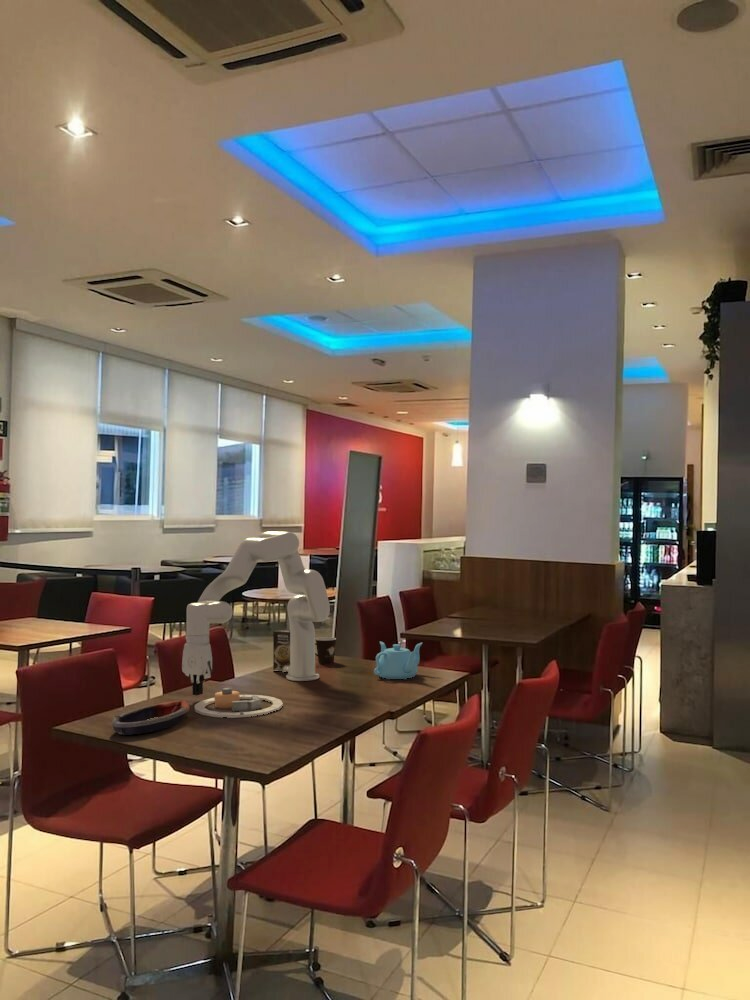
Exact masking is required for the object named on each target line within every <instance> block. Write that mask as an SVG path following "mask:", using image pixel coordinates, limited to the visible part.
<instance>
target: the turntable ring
mask: <svg viewBox="0 0 750 1000" xmlns="http://www.w3.org/2000/svg"><path fill="white" fill-rule="evenodd" d="M252 695H253V694H239V697H240V700H252ZM256 695H257V698H258V699H261V701H263V700H265V701H264V702H267V701H268V703H270V702H271V703H270V704H272V705H270V706H269V707H265V708H263V709H262V708H261V709H258V710H254V711H239V712H224V711H223V712H221V711H215V710H209V709H207V708H206V707H207V706H208V705H212V704H215V697H211V698H207V699H203V700H201V701H199V702H198V703H196V704H194V712H195V713H197V714H200V715H201V716H206V717H212V718H223V717H227V719H235V718H236V719H237V718H252V717H257V715H258V716H263V714H264V715H269V714H271V713H270V712H272V713H273V711H275V712H277V711H276V710H278V711H279V710H280V709H281V708H283V707H284V703H283V701H282V699H279V698H277V697H273V696H270V695H269V696H268V695H262V694H256ZM282 706H283V707H282ZM268 713H269V714H268ZM251 716H252V717H251Z"/></svg>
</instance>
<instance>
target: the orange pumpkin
mask: <svg viewBox="0 0 750 1000" xmlns="http://www.w3.org/2000/svg"><path fill="white" fill-rule="evenodd" d="M239 695H240V692H239V691H237V690H233V688H232V687H224V688H222V689H221V691H218V692H215V693H214V698H215V703H214V708H217V707H219V708H218V709H232V708H231V707H232V701H241V699H240V697H239Z"/></svg>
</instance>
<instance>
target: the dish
mask: <svg viewBox="0 0 750 1000" xmlns="http://www.w3.org/2000/svg"><path fill="white" fill-rule="evenodd" d="M189 711H190V704H189V702H188V701H187V699H186V700H183V699H181V700H173V701H172V700H171V701H166V702H160V703H155V704H151V705H150V704H149V705H146V706H143V707H138V708H135V709H132V710H129V711H127V712H123V713H121V714H115V715H114V717H113V719H112V721H111V726H112V727H113V730H114V731H115V732H116V733H117V734H118V735H122V734H123V736H125V735H126V736H134V735H133V734H138V735H143V734H142V733H144V734H149V733H148V732H150V733H153V731H154V732H157V730H158V731H161V729H162V730H164V728H165V729H167V728H171V727H173V726H175V725H177V724H179V723H181V722H182V721H184V720H185V719H186V717H187V716H188V713H189ZM154 717H158V718H154ZM150 718H154V719H150ZM147 719H149V720H147ZM170 726H171V727H170Z"/></svg>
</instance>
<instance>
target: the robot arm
mask: <svg viewBox="0 0 750 1000" xmlns="http://www.w3.org/2000/svg"><path fill="white" fill-rule="evenodd" d="M299 546H300V539H299V537H298V536H297V535H296V534H295V533H294V532H291V531H277V530H276V531H274V530H273V531H264V532H263V533H261V534H260V535H259V536H258V537H248V538H244V539H243V540H242V541H241V542H240V543H239V545H238V546H237V547H238V548H237V549H236V550H235V553H234V555H233V556H232V558H231V560H230V562H229V563H228V564H227V567H226V568H225V570H224V571H223V572H222V573H221V574H219V575H218V576H217V577H216V578H214V579H213V581H212V582H210V583H209V584H208V585H207V586H206V587H205V589H203V592H202V594H201V595H200V597H199V598H198V600H197V602H191V603H188V604H187V606H186V635H185V637H184V638H185V640H186V642H185V643H184V645H183V650H182V661H181V670H182V672H183V673H184V675H185V676H187V677H189V679H190V683H191V684H192V695H193V696H199V695H203V691H204V689H203V688H204V687H203V685H204V684H203V683H205V681H206V680H207V679H210V678H211V677H212V675H211V673H212V671H213V656H212V655H213V652H212V647H211V644H210V624H225V623H227V622H228V621H230V619H231V618H232V617H233V612H234V610H233V607H232V606H231V605H230V603H228V602H227V601H222V600H221V599H222V598H223V597H224V596H225V595H226V594H227V593H229V592H231V591H233V590H235V589H237V588H239V587H241V586H243V585H245V584H246V583H247V581H248V580H249V578H250V576H251V574H252V573H253V571H254V569H255V567H256V566H257V564H258V563H259V562H261V563H268V562H273V561H277V563H278V565H279V569H280V571H281V576H282V579H283V583H284V586H285V589H286V590H287V592H288V593H291V594H296V595H294V596H292V597H291V598H290V599H289V600H288V603H287V606H286V607H287V615H288V620H289V622H288V623H289V630H290V666H288V665H285V666H284V668H283V671H288V673H286V675H285V676H286V677H285V678H286V680H289V681H294V682H304V681H305V682H308V681H315V680H318V679H319V678H320V674H319V673H317V672H316V655H315V653H316V645H315V643H316V629H315V625H314V623H313V622H316V623H320V622H324V621H326V620H327V619H328V617H329V615H330V612H331V607H330V600H329V598H328V597H329V596H328V593H327V588H326V584H325V581H324V578H323V576H322V575H321V574H320V572H319V571H317V570H315V569H309V568H305V567H304V564H303V559H302V557H301V555H300V552H299V551H298V549H299Z"/></svg>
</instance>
